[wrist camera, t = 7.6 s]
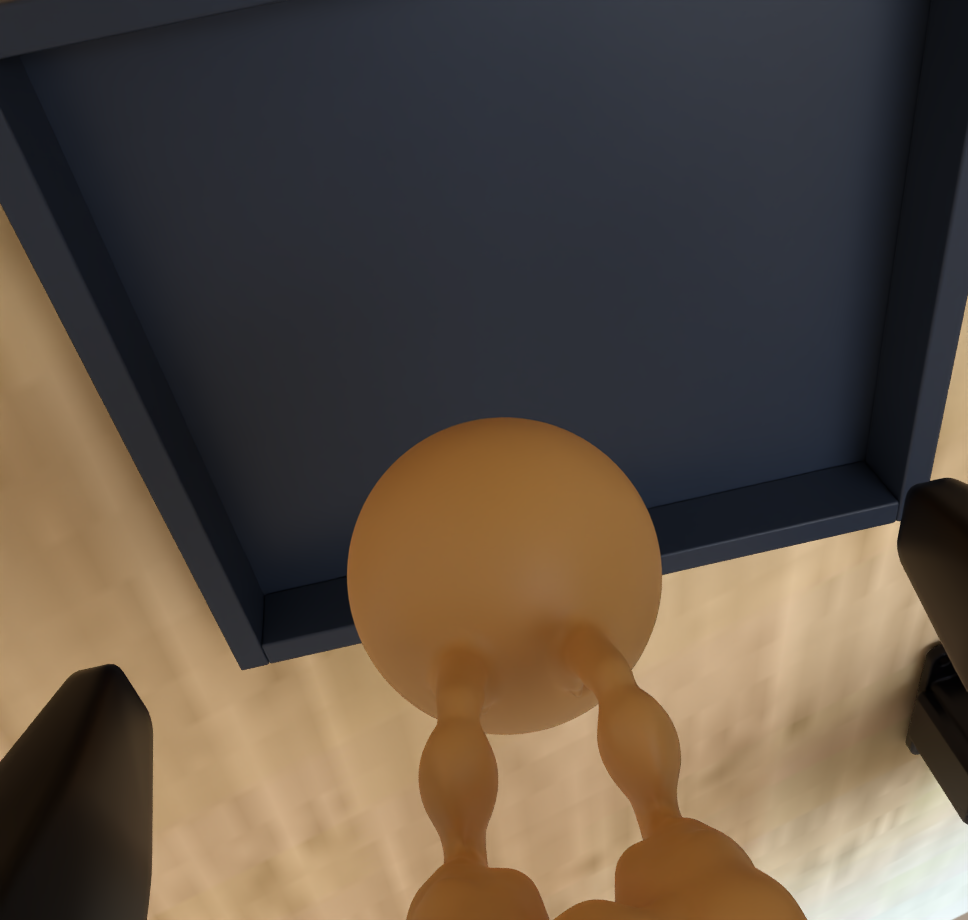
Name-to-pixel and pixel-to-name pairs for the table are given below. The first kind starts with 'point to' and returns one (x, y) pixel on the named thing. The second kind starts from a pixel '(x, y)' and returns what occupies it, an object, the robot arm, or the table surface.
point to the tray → (495, 257)
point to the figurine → (533, 660)
